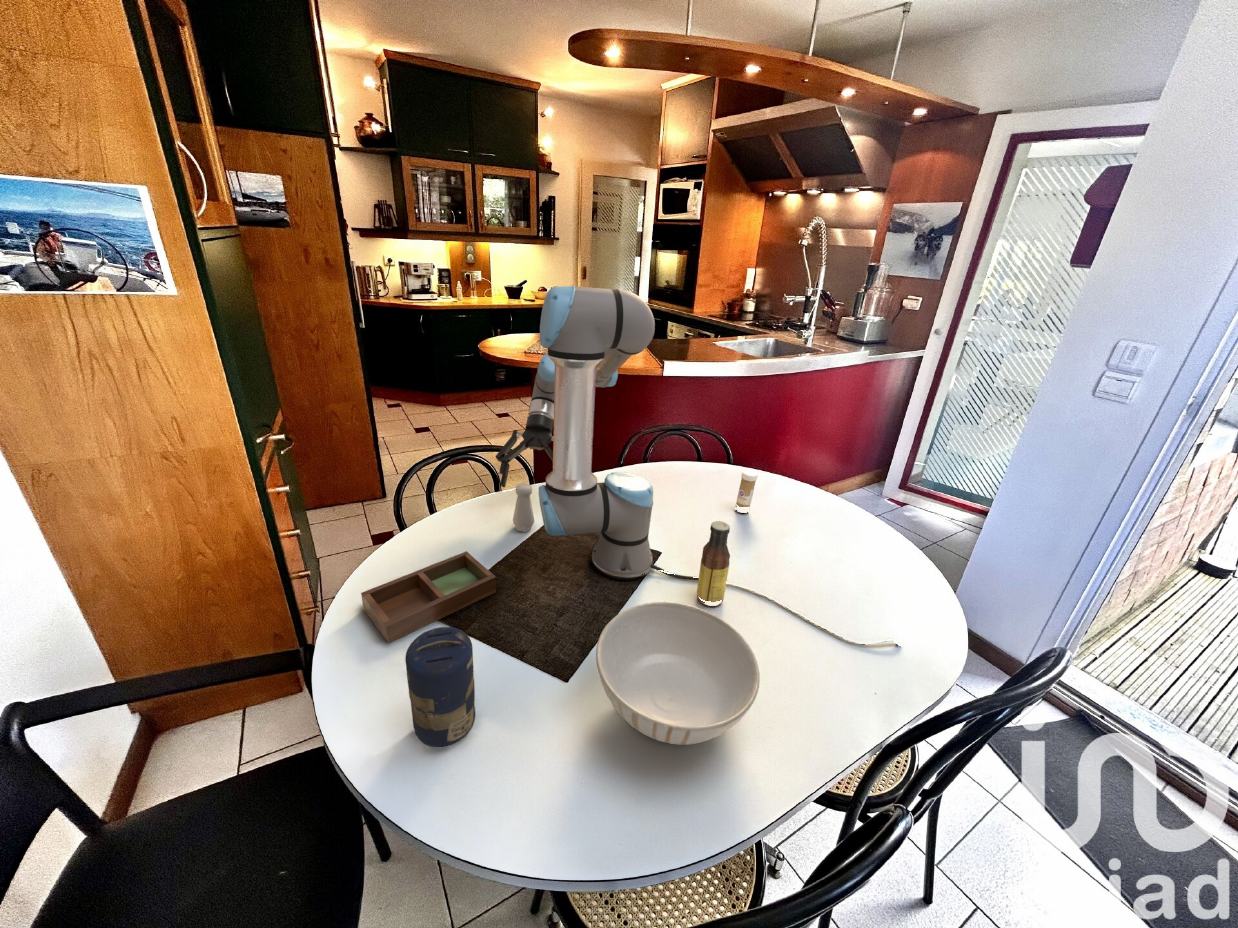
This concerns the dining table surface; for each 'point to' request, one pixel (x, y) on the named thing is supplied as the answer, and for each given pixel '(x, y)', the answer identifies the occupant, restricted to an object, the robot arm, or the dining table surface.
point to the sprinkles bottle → (746, 488)
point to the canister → (441, 686)
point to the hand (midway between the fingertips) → (527, 488)
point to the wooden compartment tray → (427, 595)
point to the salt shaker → (523, 508)
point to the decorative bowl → (676, 671)
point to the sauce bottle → (714, 564)
